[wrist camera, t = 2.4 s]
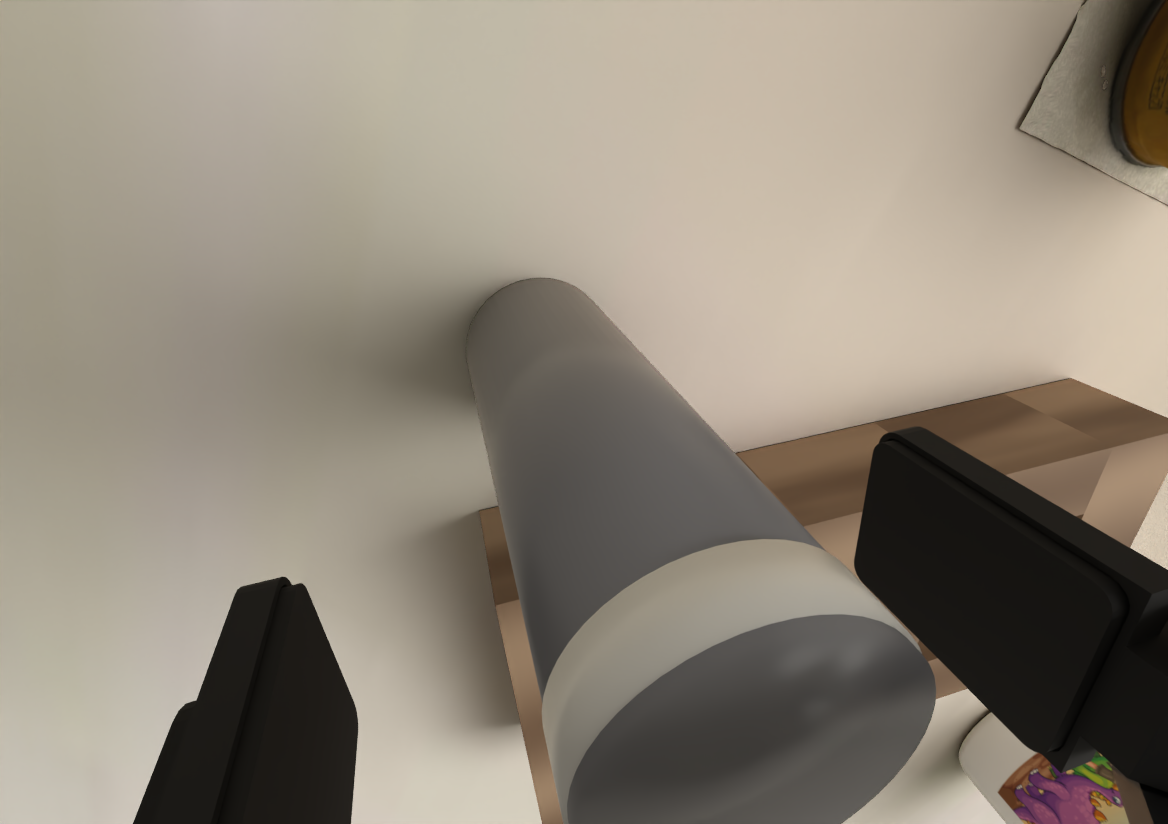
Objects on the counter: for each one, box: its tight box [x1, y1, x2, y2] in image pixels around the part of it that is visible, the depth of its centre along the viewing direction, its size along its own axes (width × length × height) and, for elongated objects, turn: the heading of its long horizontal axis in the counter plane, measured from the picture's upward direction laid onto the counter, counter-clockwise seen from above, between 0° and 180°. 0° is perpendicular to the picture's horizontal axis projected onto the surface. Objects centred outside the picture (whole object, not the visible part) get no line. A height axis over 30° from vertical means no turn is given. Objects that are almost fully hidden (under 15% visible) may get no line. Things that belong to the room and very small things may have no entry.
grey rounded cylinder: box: [466, 278, 936, 824], centre depth 11 cm, size 4×4×12 cm
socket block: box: [479, 378, 1168, 824], centre depth 21 cm, size 11×23×4 cm, turn 95°
